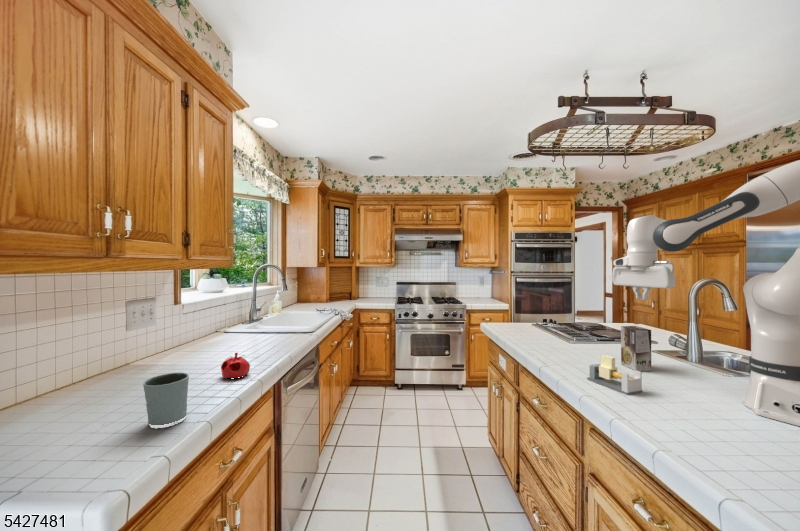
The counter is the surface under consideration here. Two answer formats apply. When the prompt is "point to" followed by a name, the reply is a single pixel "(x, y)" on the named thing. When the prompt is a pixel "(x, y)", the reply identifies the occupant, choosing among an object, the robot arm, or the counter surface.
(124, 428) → the counter surface
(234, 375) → the pomegranate
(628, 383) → the linear slide clamp
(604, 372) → the notched stepped block
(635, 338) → the coffee box
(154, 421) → the grey plant pot
